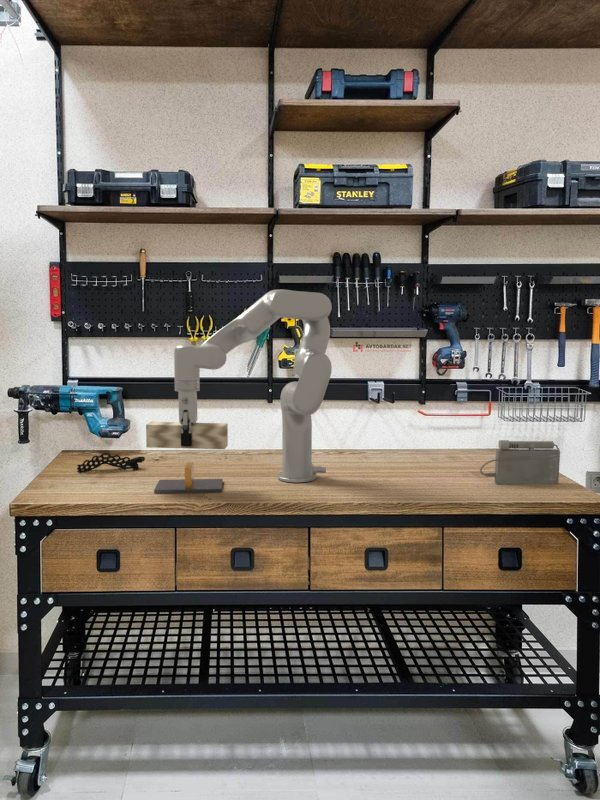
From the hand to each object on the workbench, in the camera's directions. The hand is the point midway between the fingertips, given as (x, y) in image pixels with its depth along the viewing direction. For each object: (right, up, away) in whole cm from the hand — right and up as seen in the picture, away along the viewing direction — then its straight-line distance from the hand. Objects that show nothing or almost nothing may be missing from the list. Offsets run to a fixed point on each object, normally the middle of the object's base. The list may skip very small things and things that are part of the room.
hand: (187, 443), depth 208 cm
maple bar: (0, -1, 0) cm, 1 cm away
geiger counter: (+104, -13, +7) cm, 105 cm away
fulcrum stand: (0, -14, +2) cm, 14 cm away
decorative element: (-30, -11, +24) cm, 40 cm away
